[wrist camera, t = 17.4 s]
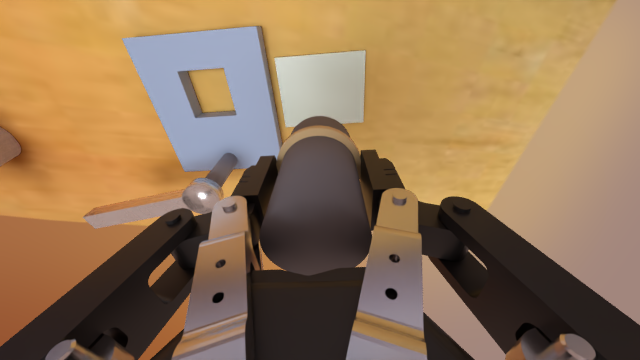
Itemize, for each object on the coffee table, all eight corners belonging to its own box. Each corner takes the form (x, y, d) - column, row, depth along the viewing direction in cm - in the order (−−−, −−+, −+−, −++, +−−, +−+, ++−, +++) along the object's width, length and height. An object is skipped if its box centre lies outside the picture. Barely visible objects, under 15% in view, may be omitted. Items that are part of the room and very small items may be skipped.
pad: (364, 49, 25) (365, 50, 25) (362, 120, 30) (363, 122, 29) (275, 57, 26) (274, 58, 25) (286, 125, 30) (285, 127, 30)
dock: (261, 26, 24) (233, 25, 17) (285, 159, 33) (273, 196, 26) (135, 37, 25) (57, 42, 18) (191, 164, 34) (155, 201, 27)
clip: (88, 201, 26) (75, 211, 25) (213, 174, 24) (206, 183, 22) (111, 224, 28) (101, 234, 27) (229, 201, 26) (224, 211, 24)
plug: (356, 108, 13) (386, 188, 7) (355, 174, 16) (376, 279, 9) (278, 113, 14) (235, 195, 7) (289, 177, 16) (265, 282, 10)
